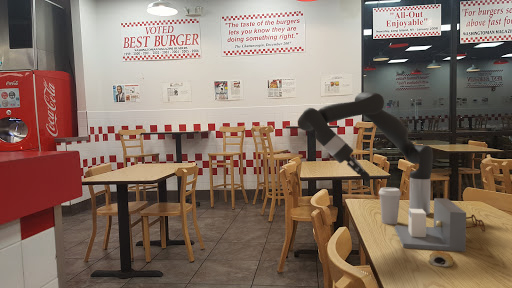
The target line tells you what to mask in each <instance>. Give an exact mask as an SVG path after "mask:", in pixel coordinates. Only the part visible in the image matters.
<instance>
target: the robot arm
mask: <svg viewBox="0 0 512 288" xmlns="http://www.w3.org/2000/svg"><path fill="white" fill-rule="evenodd" d="M384 106H385V100H384V97H383V96H382V95H381V94H380V93H377V92H373V91H372V92H371V91H369V92H368V91H364V92H363V91H362V92H360V93H357V95H356V96H355V98H354V101H348V102H337V103H333V104H330V105H325V106H322V107H320V108H319V109H318V110H317V109H316V108H314V107H307V108H306V109H304V111H303V112H302V114H301V115H300V116H299V117H298V119H297V126H298V127H299V129H301V130H302V131H306V132H310V131H313V130H314V132H315V137H314V138H315V139H316V140H317V142H318V143H319V144H320V145H322V147H323V148H324V149H325V151H327V153H329V154H330V156H332V157H333V158H334V159H335V160H336V161H337V163H339V164H342V163H344V162H345V161H346V163H347V164H346V165H347V166H348V167H349V168H350V169H351V170H352V171H353V172H355V173H356V175H358V176H360V177H361V178H362V179H363V180H364V181H365V182H367V183H368V182H369V181H370V180H371V179H372V177H371V176H370V173H369V172H367V170H365V169H364V167H363V166H362V164H361V163H360V162H359V161H358V160H357V158H356V157H355V156H354V157H353V156H352V154H353V153H354V149H353V148H352V147H351V146H350V145H349V144H348V143H347V142H346V141H345V140H344V139H343V138H342V137H341V136H339V135H338V134H337V133H336V132H335V131H334V130H333V129H332V128H331V127H330V126H329V125H328V124H331V123H333V122H337V121H341V120H344V119H345V120H346V119H348V118H352V117H357V116H362V115H363V116H364V117H366V118H367V119H368V120H369V121H370V122H372V123H373V125H375V127H376V128H377V129H378V130H380V132H381V133H382V134H383V135H384V136H385V137H386V138H387V139H388V140H389V141H391V143H392V144H394V146H395V147H396V148H397V149H398V150H399V151H400V152H401V153H402V155H403V157H405V159H406V160H407V161H408V162H409V163H412V164H416V165H417V164H418V168H417V169H415V170H412V171H410V172H409V203H408V204H409V206H408V207H409V208H408V210H409V209H423V210H424V212H425V213H426V216H428V215H430V214H431V178H432V177H431V175H432V173H433V162H434V160H433V159H434V151H433V148H432V147H431V146H429V145H427V144H426V145H425V144H414V143H413V142H412V141H411V140H410V139H409V132H408V131H409V130H408V128H407V127H406V126H405V124H404V123H403V122H402V121H401V120H400V119H399V118H398V117H396V116H394V115H393V114H391V113H389V112H387V111H386V110H384V109H383V108H384Z"/></svg>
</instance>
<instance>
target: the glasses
mask: <svg viewBox="0 0 512 288" xmlns="http://www.w3.org/2000/svg"><path fill="white" fill-rule="evenodd" d="M468 219H471V221H472V222H471V223H473V225H469V226H467V225H466V229H471V228H478V227H479V229H480V231H482V232H483V231H484V232H485V231H486V227H485V224H484V221H483V220H482V219H477V218H476V216H475V214H471V216H466V220H468ZM482 227H483V228H482Z"/></svg>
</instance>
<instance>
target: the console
mask: <svg viewBox="0 0 512 288" xmlns="http://www.w3.org/2000/svg"><path fill="white" fill-rule="evenodd" d="M466 217H467V212H465V210H463V209H462V208H461V207H459V206H458V205H457V204H455V203H454V202H453V201H451V200H450V199H449V198H438V197H435V198H434V199H433V227H432V226H426V237H411V235H410V233H409V231H408V225H398V224H394V230H395V232H396V236H397V237H398V239H399V241H400V244H401V245H402V248H404V249H415V250H416V249H418V250H433V251H435V250H436V251H447V252H450V251H451V252H466V248H467V247H466V246H467V244H466V242H467V240H466V239H467V238H466V237H467V228H466V227H467V219H466Z"/></svg>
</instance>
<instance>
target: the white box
mask: <svg viewBox="0 0 512 288" xmlns="http://www.w3.org/2000/svg"><path fill="white" fill-rule="evenodd" d="M407 210H408V222H407V223H408V224H407V226H408V231H409V233H410V235H411V237H426V227H427V215H426V213H425V212H424V210H423V209H409V208H408V209H407Z"/></svg>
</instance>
